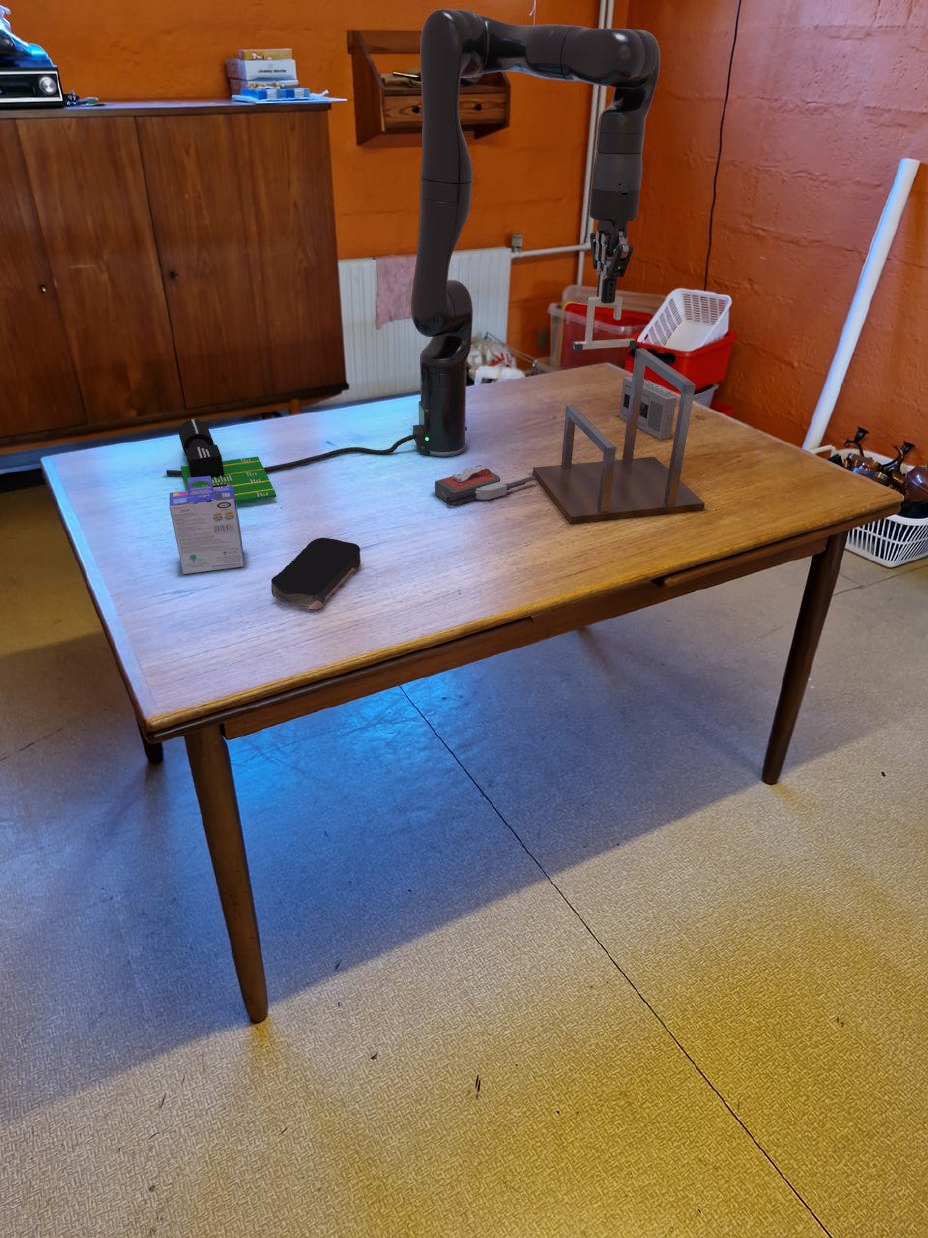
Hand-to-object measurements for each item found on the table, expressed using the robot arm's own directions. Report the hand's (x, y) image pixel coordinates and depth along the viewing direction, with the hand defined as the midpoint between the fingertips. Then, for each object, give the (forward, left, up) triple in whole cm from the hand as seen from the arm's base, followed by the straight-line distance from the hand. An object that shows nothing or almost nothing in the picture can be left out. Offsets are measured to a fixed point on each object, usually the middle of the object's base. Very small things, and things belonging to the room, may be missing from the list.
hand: (605, 300), depth 142 cm
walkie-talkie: (-19, +6, -36) cm, 41 cm away
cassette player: (+26, +31, -36) cm, 53 cm away
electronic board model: (-66, +23, -36) cm, 79 cm away
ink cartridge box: (-68, -11, -36) cm, 78 cm away
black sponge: (-53, -21, -36) cm, 67 cm away
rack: (+6, 0, -35) cm, 36 cm away
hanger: (+1, 0, -8) cm, 8 cm away
